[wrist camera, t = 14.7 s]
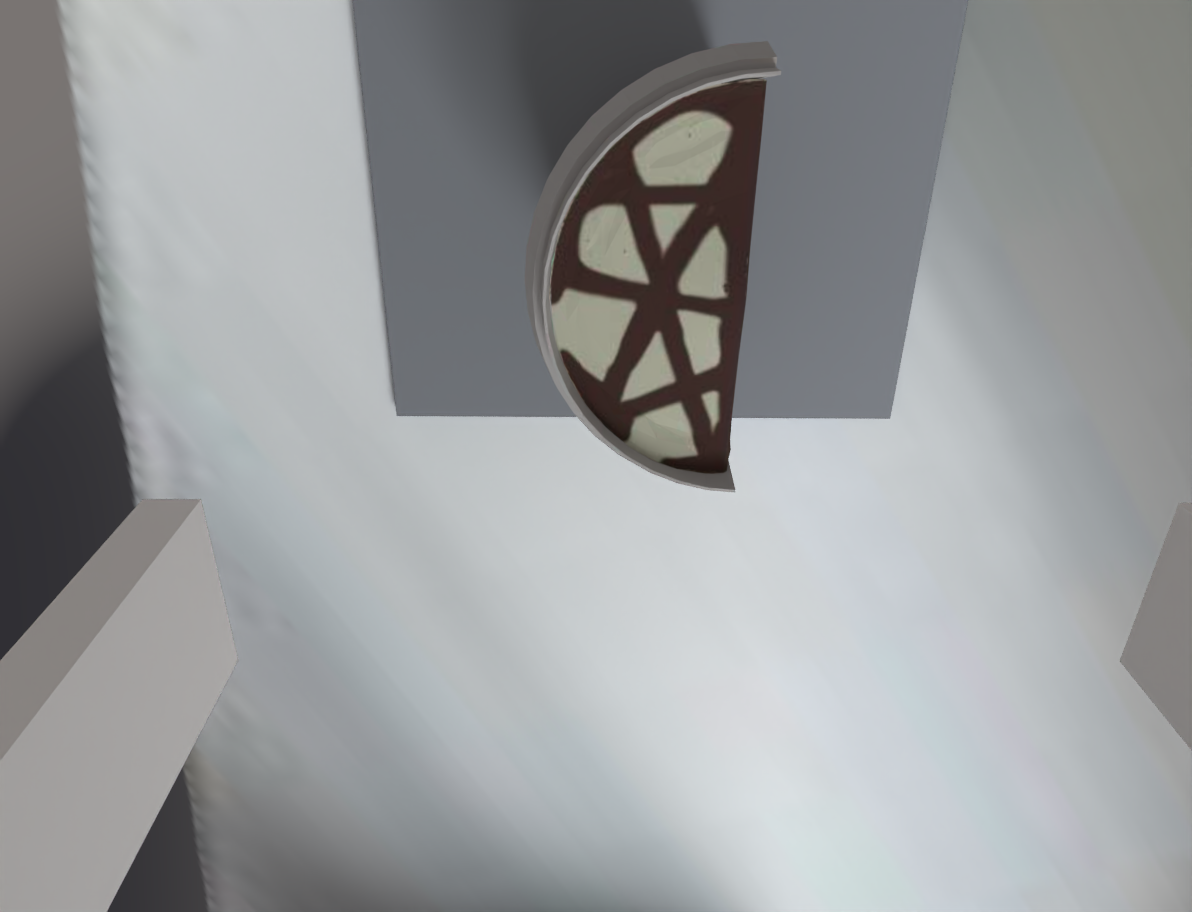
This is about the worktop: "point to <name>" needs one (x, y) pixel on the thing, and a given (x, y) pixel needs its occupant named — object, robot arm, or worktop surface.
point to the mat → (562, 107)
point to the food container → (654, 261)
